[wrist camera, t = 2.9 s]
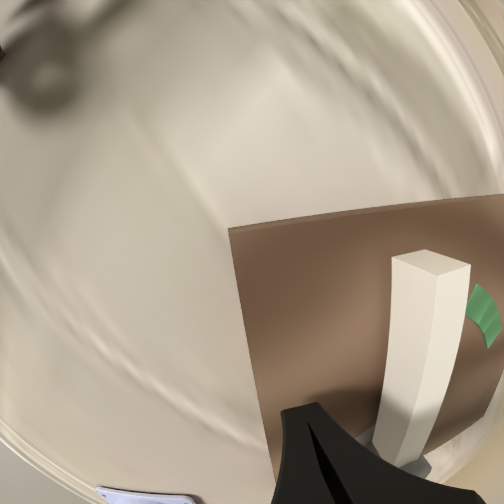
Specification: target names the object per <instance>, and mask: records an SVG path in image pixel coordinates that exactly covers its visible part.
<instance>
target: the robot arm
mask: <svg viewBox="0 0 504 504" xmlns="http://www.w3.org/2000/svg"><path fill="white" fill-rule="evenodd" d="M280 415H281V422H282V429H283V444H282V456H281V463H280V469H279V474H278V479H277V484H276V488H275V492H274V495H273V499H272V502H271V504H486V503H485V502H484V500H483V499H482V498H481V497H480V496H479V495H478V494H477V493H476V492H475V491H473V490H467V489H460V488H455V487H450V486H445V485H442V484H438V483H435V482H431V481H429V480H426V479H423V478H421V477H418V476H415V475H413V474H410V473H408V472H406V471H404V470H402V469H400V468H398V467H396V466H394V465H392V464H390V463H389V462H387V461H385V460H383V459H382V458H380V457H379V456H377V455H376V454H374V453H373V452H371V451H370V450H368V449H367V448H366V447H364V446H363V445H362V444H360V443H359V442H358V441H357V440H355V439H354V438H353V437H352V436H351V435H350V434H348V433H347V432H346V431H345V430H344V429H343V428H342V427H341V426H340V425H339V424H338V423H337V422H336V421H335V420H334V419H333V418H332V417H331V416H330V415H329V414H328V413H327V412H326V411H325V410H324V409H323V407H322V406H321V405H320V404H319V403H318V402H314V403H310V404H306V405H302V406H297V407H293V408H288V409H284V410H282V411H281V412H280ZM96 492H97V493H98V494H99V495H100V496H101V497H103V498H104V499H105V500H106V501H107V502H108V503H109V504H196V503H195V502H194V500H193V499H192V498H191V497H189V496H184V495H159V494H146V493H136V492H128V491H121V490H114V489H109V488H103V487H96Z"/></svg>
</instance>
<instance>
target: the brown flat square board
mask: <svg viewBox="0 0 504 504" xmlns="http://www.w3.org/2000/svg"><path fill="white" fill-rule="evenodd" d="M228 232H229V238H230V245H231V251H232V257H233V263H234V268H235V274H236V280H237V286H238V292H239V297H240V303H241V309H242V314H243V320H244V326H245V331H246V337H247V342H248V347H249V353H250V358H251V363H252V369H253V374H254V379H255V384H256V389H257V394H258V400H259V405H260V410H261V415H262V420H263V424H264V429H265V434H266V439H267V444H268V449H269V453H270V458H271V463H272V467H273V472H274V477H275V481H276V484H277V479H278V474H279V469H280V463H281V456H282V444H283V429H282V422H281V415H280V412H281V411H282V410H284V409H288V408H293V407H297V406H302V405H306V404H310V403H314V402H318V403H319V404H320V405H321V406H322V407H323V409H324V410H325V411H326V412H327V413H328V414H329V415H330V416H331V417H332V418H333V419H334V420H335V421H336V422H337V423H338V424H339V425H340V426H341V427H342V428H343V429H344V430H345V431H346V432H347V433H348V434H350V435H351V436H352V437H353V438H354V439H355V440H357V441H358V442H359V443H360V444H362V445H363V446H364V447H365V446H367V445H368V444H369V443H371V442H372V439H373V435H374V431H375V426H376V422H377V417H378V412H379V407H380V401H381V395H382V389H383V383H384V376H385V369H386V361H387V352H388V342H389V330H390V316H391V292H392V257H393V256H398V255H402V254H407V253H411V252H416V251H420V250H424V249H426V250H429V251H432V252H435V253H438V254H441V255H444V256H447V257H450V258H453V259H456V260H459V261H462V262H465V263H468V264H470V265H471V269H470V280H469V289H468V297H467V305H466V311H465V317H464V323H463V328H462V333H461V338H460V343H459V347H458V351H457V355H456V359H455V363H454V367H453V370H452V374H451V377H450V381H449V384H448V387H447V390H446V393H445V396H444V399H443V402H442V405H441V407H440V410H439V413H438V415H437V418H436V420H435V423H434V425H433V428H432V430H431V432H430V435H429V437H428V439H427V441H426V444H425V446H424V448H423V450H422V452H421V453H422V455H425V454H427V453H429V452H431V451H432V450H434V449H436V448H437V447H439V446H441V445H442V444H444V443H446V442H447V441H449V440H450V439H452V438H453V437H455V436H456V435H458V434H459V433H461V432H462V431H464V430H465V429H467V428H468V427H469V426H471V425H472V424H473V423H475V422H476V421H477V420H479V419H480V418H481V417H483V416H484V414H485V412H486V410H487V408H488V405H489V403H490V401H491V399H492V397H493V394H494V392H495V390H496V387H497V385H498V382H499V380H500V377H501V375H502V372H503V370H504V194H499V195H486V196H475V197H464V198H453V199H443V200H433V201H424V202H415V203H406V204H397V205H389V206H380V207H372V208H364V209H356V210H349V211H341V212H334V213H326V214H319V215H312V216H305V217H298V218H291V219H285V220H278V221H271V222H265V223H258V224H252V225H246V226H240V227H233V228H228Z"/></svg>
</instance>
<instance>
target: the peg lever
mask: <svg viewBox="0 0 504 504" xmlns="http://www.w3.org/2000/svg"><path fill="white" fill-rule="evenodd" d="M470 269H471V265H470V264H468V263H465V262H462V261H459V260H456V259H453V258H450V257H447V256H444V255H441V254H438V253H435V252H432V251H429V250H426V249H424V250H420V251H416V252H411V253H407V254H402V255H398V256H393V257H392V292H391V316H390V330H389V342H388V352H387V361H386V369H385V376H384V383H383V389H382V395H381V401H380V407H379V412H378V417H377V422H376V426H375V431H374V435H373V439H372V442H371V443H369V444H368V445H367V446H365V447H366V448H367V449H368V450H370V451H371V452H373V453H374V454H376V455H377V456H379V457H380V458H382V459H383V460H385V461H387V462H389V463H390V464H392V465H394V466H396V467H398V468H400V469H402V470H404V471H406V472H408V473H410V474H413V475H415V476H418V477H421V478H423V479H425V478H426V477H427V476H428V475H429V473H430V471H431V469H432V467H431V466H430V464H429V463H428V462H427V460H426V459H425V457H424V456H423V455H422V453H421V452H422V450H423V448H424V446H425V444H426V441H427V439H428V437H429V435H430V432H431V430H432V428H433V425H434V423H435V420H436V418H437V415H438V413H439V410H440V407H441V405H442V402H443V399H444V396H445V393H446V390H447V387H448V384H449V381H450V377H451V374H452V370H453V367H454V363H455V359H456V355H457V351H458V347H459V343H460V338H461V333H462V328H463V323H464V317H465V311H466V305H467V297H468V289H469V280H470Z"/></svg>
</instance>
